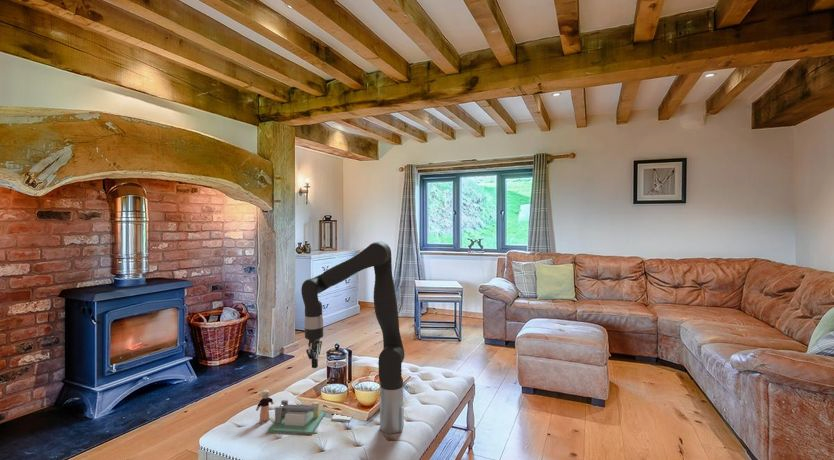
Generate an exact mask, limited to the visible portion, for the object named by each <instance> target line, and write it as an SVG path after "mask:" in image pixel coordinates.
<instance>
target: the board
mask: <svg viewBox="0 0 834 460" xmlns="http://www.w3.org/2000/svg"><path fill="white" fill-rule="evenodd" d="M280 403H281V404H282V403H285V404H287V405H289V400H288V399H281V401H280ZM281 404H280V405H281ZM312 404H317V406H316V409H315V410H314V411H313V412H303V411H282V407H279V406H275V408H274V421H273V423H272V424H271V425H270V427H268V429H267V433H277V434H278V433H281V434H293V433H298V434H297V435H313V434H314V433H315V431H316V429H318V427H319V425H320V423H321V422H322V420H323V419H324V417H325V416H326V411H320V401H314V402H313V403H312Z"/></svg>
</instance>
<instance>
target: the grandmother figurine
mask: <svg viewBox="0 0 834 460" xmlns="http://www.w3.org/2000/svg"><path fill="white" fill-rule="evenodd" d="M269 395H270V391H269V390H268V389H264V390H262V391H261V392H260V396H261V397H262V398H261V399H260V401H259V402H258V404H257V406H256V408H255V411H257V412H258V411H259V410H260V411H259V412H260V413H259V420H258V422H260V423H259V424H263V423H265V422H268V421H270V420H271V418H270V411H269V410H270V404H271V405H274V404H275V403H274V400H273V398H271V397H269Z"/></svg>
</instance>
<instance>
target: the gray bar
mask: <svg viewBox="0 0 834 460" xmlns="http://www.w3.org/2000/svg"><path fill="white" fill-rule="evenodd" d="M316 406H317V404H313V403H312V404H309V405H308V404H288V405H287V404H285V403H282V404H280V405H279V406H278V407H282V411H303V412H313V411H314V410H315V409H316Z"/></svg>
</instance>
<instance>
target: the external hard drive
mask: <svg viewBox="0 0 834 460" xmlns="http://www.w3.org/2000/svg"><path fill="white" fill-rule="evenodd" d="M352 419H353V418H351V417H347V416H341V415H336V414H335V413H334V414H333V416H332V417H331V419H330V421H335V422H349V423H350V422H351V421H352Z"/></svg>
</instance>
